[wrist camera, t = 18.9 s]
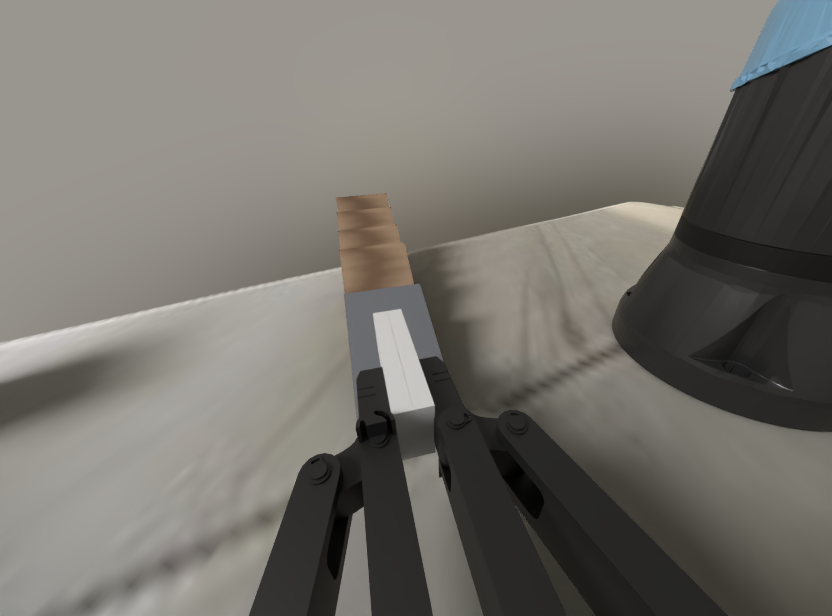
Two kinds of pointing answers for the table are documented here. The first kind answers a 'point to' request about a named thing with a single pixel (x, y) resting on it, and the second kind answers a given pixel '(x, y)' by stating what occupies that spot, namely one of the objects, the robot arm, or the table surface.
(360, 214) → the walnut domino
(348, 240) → the walnut domino
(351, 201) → the walnut domino
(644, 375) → the table surface
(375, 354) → the charcoal domino
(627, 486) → the table surface
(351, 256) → the walnut domino
